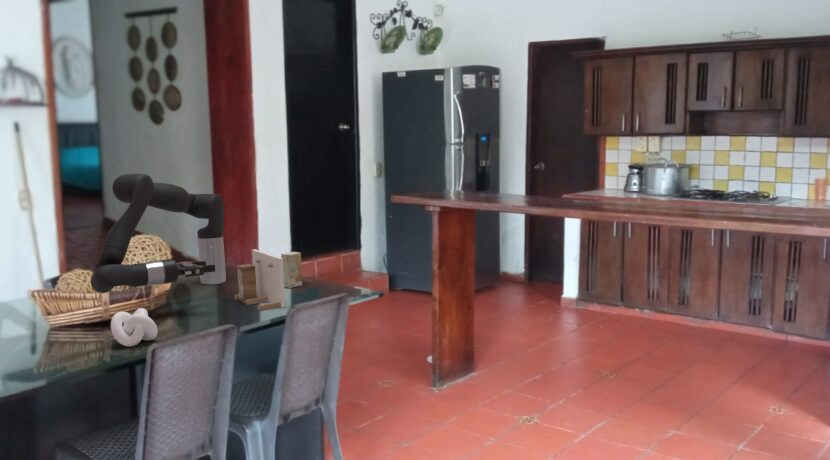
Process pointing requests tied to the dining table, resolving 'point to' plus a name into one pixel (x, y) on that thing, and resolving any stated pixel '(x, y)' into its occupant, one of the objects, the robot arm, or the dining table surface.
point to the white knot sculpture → (133, 327)
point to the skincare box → (292, 269)
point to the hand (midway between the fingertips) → (210, 266)
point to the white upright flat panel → (268, 280)
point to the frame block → (246, 282)
